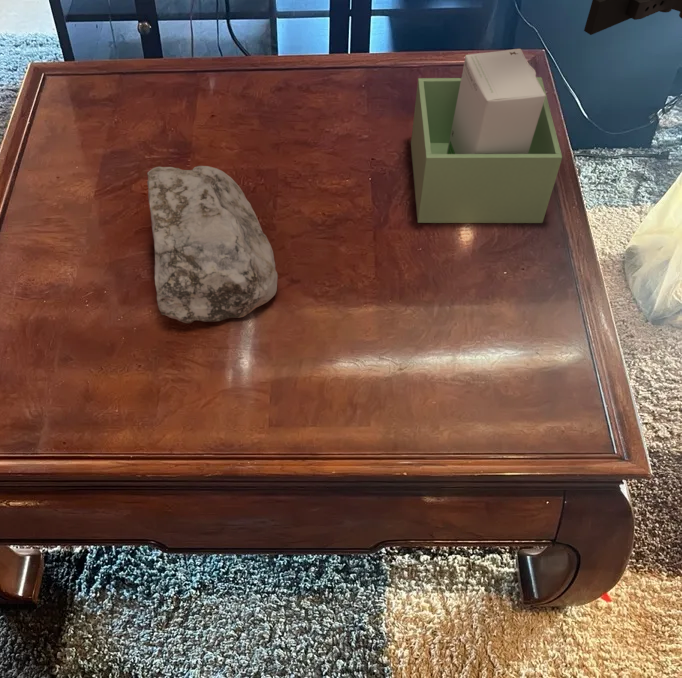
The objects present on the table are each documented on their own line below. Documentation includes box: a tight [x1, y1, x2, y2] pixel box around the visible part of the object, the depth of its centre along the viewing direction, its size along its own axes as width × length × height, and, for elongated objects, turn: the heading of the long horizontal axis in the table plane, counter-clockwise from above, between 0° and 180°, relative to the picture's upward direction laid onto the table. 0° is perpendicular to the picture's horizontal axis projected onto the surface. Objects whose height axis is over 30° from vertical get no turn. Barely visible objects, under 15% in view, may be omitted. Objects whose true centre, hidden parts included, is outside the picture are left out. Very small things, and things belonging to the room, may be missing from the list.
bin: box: [410, 76, 563, 224], centre depth 93 cm, size 14×14×10 cm
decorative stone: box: [146, 165, 279, 324], centre depth 88 cm, size 20×14×10 cm
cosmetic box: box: [447, 48, 547, 154], centre depth 90 cm, size 8×7×16 cm
